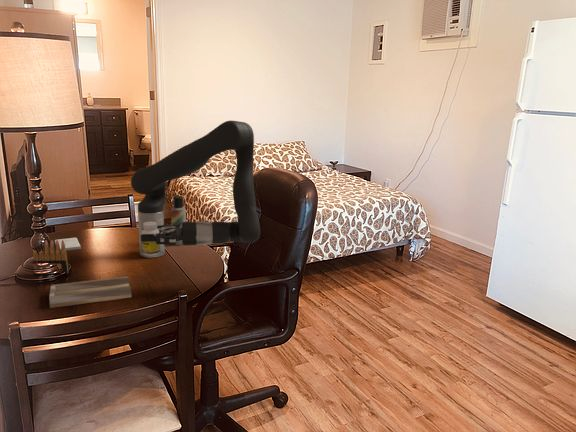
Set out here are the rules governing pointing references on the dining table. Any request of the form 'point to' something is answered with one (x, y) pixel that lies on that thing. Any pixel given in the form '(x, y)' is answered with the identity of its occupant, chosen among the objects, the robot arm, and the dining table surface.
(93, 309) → the dining table surface
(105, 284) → the track
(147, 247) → the supplement bottle
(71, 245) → the external hard drive
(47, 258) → the ammunition clip
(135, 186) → the robot arm
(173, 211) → the lotion bottle
